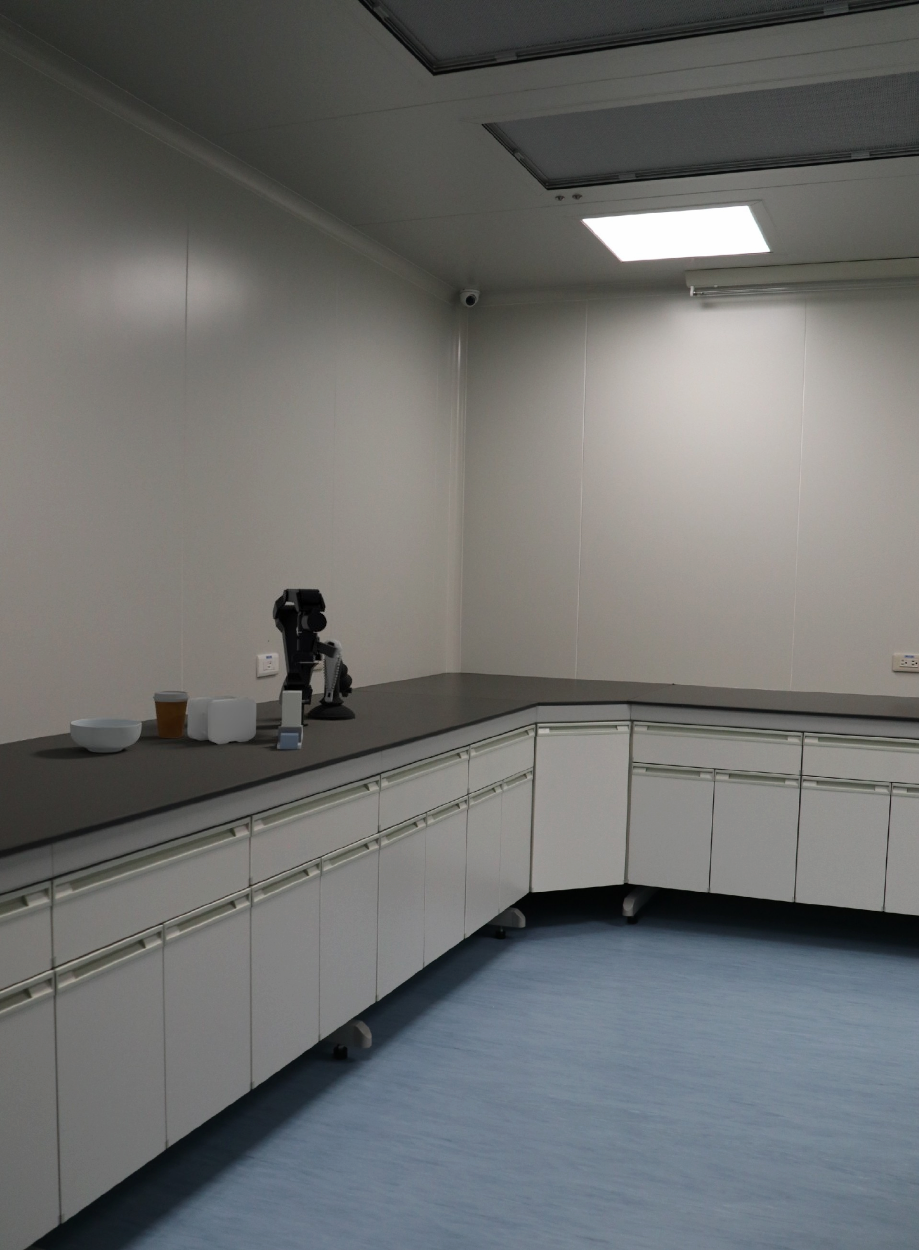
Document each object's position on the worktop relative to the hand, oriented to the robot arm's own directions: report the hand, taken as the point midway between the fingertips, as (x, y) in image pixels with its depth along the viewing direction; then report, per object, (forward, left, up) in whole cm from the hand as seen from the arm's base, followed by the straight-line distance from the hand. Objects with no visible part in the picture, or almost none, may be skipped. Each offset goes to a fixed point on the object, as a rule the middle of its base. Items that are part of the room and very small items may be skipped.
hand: (307, 687), depth 299 cm
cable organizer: (+7, -28, -13) cm, 31 cm away
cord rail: (+16, -12, -13) cm, 24 cm away
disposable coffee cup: (-5, -38, -13) cm, 40 cm away
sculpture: (-30, +23, -13) cm, 40 cm away
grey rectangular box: (+12, -10, -12) cm, 19 cm away
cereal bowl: (+11, -59, -13) cm, 61 cm away
